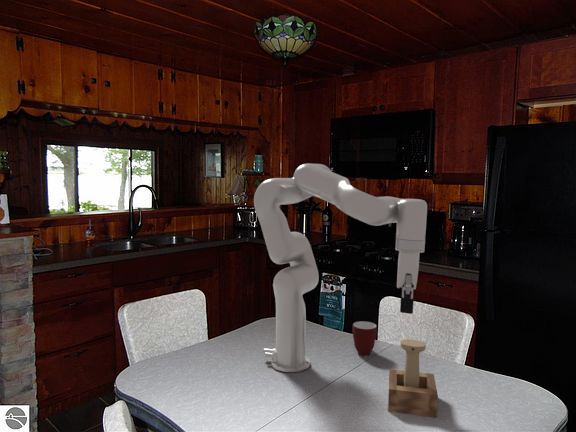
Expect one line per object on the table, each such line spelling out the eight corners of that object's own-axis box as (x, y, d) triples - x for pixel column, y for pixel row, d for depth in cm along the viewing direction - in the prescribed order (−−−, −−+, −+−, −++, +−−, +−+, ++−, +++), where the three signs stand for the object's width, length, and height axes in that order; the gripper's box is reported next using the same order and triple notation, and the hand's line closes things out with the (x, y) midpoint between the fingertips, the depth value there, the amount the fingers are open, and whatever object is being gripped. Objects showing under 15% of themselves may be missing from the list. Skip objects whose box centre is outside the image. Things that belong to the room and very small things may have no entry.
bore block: (388, 411, 114) (388, 388, 113) (388, 389, 125) (389, 369, 125) (436, 417, 111) (437, 394, 110) (432, 394, 123) (433, 374, 122)
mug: (348, 346, 157) (349, 318, 156) (371, 346, 157) (372, 318, 156) (354, 358, 146) (355, 329, 145) (378, 358, 147) (379, 329, 146)
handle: (423, 403, 115) (426, 347, 114) (398, 399, 117) (400, 344, 115) (423, 394, 120) (425, 341, 118) (398, 391, 121) (400, 338, 120)
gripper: (396, 239, 127) (393, 297, 129) (394, 249, 110) (391, 315, 112) (423, 241, 125) (419, 299, 127) (426, 251, 108) (421, 319, 110)
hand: (406, 307), depth 119 cm, fingers open, 9 cm apart
